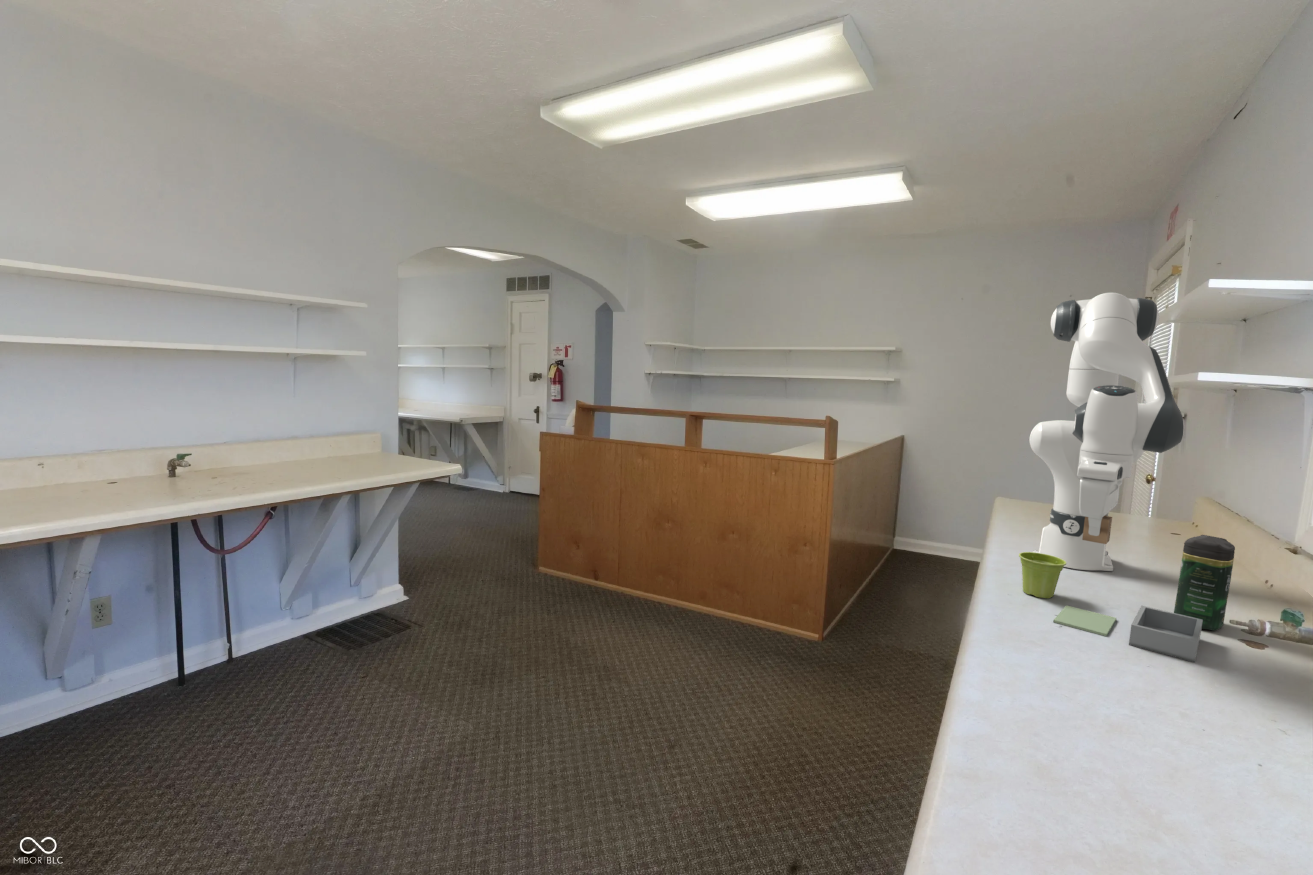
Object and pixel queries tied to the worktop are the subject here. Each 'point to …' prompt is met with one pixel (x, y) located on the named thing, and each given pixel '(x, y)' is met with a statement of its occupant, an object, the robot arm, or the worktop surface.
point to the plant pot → (1040, 573)
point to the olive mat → (1085, 620)
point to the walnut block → (1104, 532)
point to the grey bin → (1166, 633)
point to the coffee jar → (1205, 580)
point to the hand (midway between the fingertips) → (1096, 532)
